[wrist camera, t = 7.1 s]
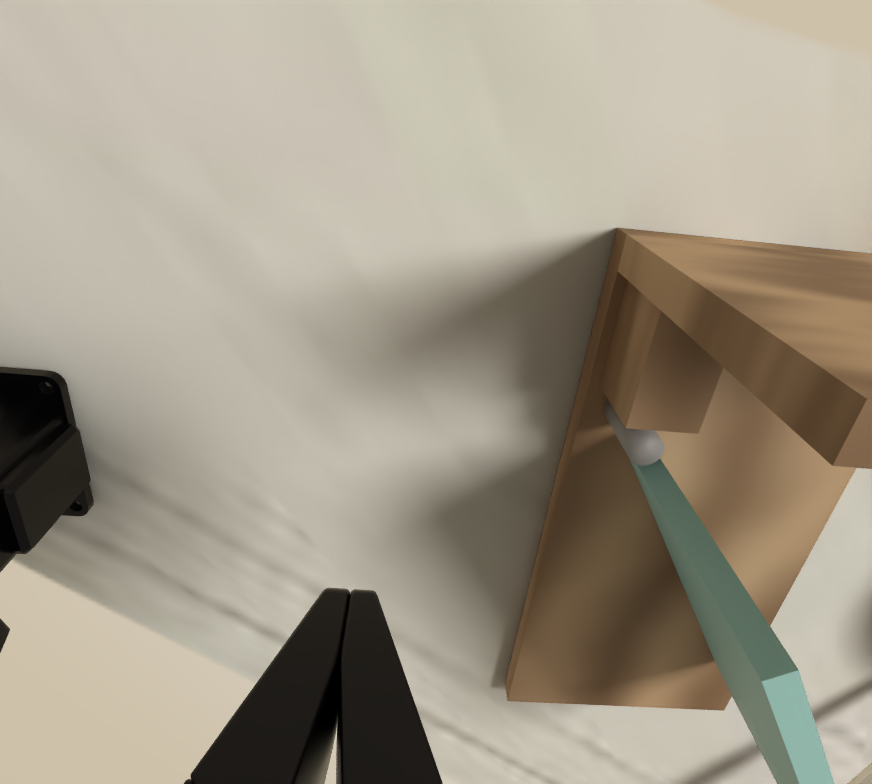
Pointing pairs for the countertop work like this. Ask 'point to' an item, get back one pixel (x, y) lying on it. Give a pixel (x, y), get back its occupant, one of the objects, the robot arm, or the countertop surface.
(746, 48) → the countertop surface
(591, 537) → the cabinet base
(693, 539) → the door
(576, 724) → the countertop surface
